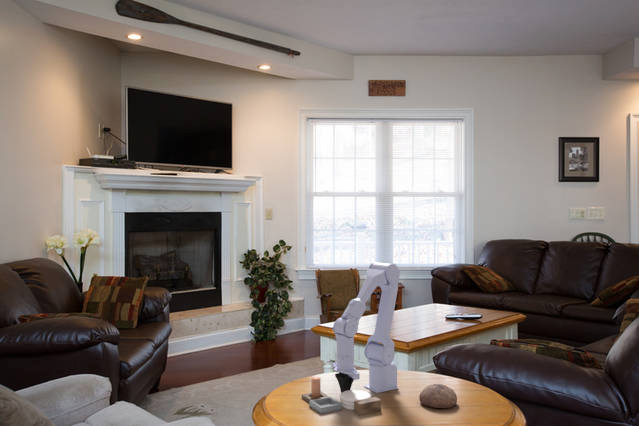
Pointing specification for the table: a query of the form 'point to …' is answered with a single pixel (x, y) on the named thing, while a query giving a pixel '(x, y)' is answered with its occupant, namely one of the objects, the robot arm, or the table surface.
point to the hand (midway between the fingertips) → (345, 395)
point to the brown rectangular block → (367, 406)
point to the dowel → (315, 387)
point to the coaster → (352, 398)
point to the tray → (325, 405)
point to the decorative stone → (438, 396)
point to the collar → (308, 398)
